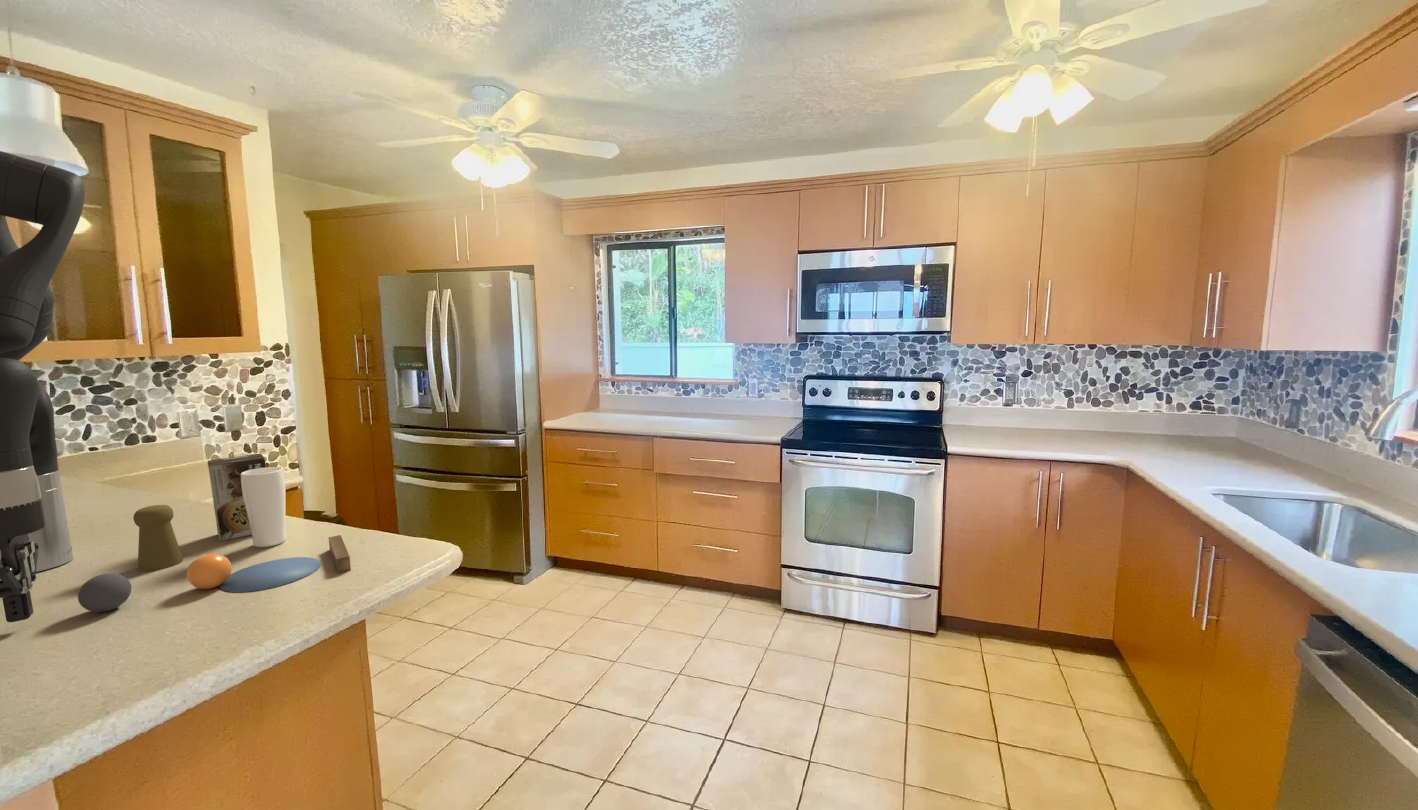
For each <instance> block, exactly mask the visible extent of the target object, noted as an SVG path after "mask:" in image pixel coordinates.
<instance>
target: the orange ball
mask: <svg viewBox="0 0 1418 810" xmlns="http://www.w3.org/2000/svg"><path fill="white" fill-rule="evenodd" d="M232 568H233V567H232V564H231V560H229V559H228V558H227V557H226V556H224V555H223V554H220V553H208V554H203V555H200V556H199V557H197V558H196V559H194V560H193V561H192V562H191V563H190V564H189V566H188V567H187V570H186V579H187V581H188V583H189V584H190V585H191V586H193V587H195V588H197V589H202V590H209V589H214V588H217V587H220V585H221V584H222V583H224V582H225V581H226V580H227V579H228V577H229V576H230V574H232Z"/></svg>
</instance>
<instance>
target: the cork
mask: <svg viewBox="0 0 1418 810" xmlns="http://www.w3.org/2000/svg"><path fill="white" fill-rule="evenodd" d="M174 515H175V514H174V510H173V508H172V507H171V506H170V505H167V504H155V505H148V506H145V507H142V508H139V509H138V510H136V511H135V512H134V513H133V517H132V518H133V522H134V524H135V525H136V526H137V527H138V529H139V530H138V548H137V549H138V550H137V553H138V554H137V571H139V572H153V571H157V570H158V571H159V570H164V569H168V568H171V567H175V566H176V565H177V566H178V565H179V564H180V563H182V562H183V561H184V558H183V556H182V551H181V550H180V546H179V544H178V540H177V537H176V534H175V531H174V529H173V526H172V523H171V522H172V520H173V519H174Z"/></svg>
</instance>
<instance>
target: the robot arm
mask: <svg viewBox="0 0 1418 810" xmlns="http://www.w3.org/2000/svg"><path fill="white" fill-rule="evenodd" d="M85 190H86V189H85V183H84V181H83V179H82V178H81V177H80V176H79V175H78V174H76V173H74V172H72V171H70V170H67V169H64V168H61V167H57V166H54V165H49V164H46V163H43V162H40V161H37V160H36V161H35V160H32V159H29V158H25V157H21V156H18V155H16V154H12V153H9V152H5V151H1V150H0V600H1V599H2V603H3V609H4V616H5V620H6V622H8V623H14V622H20V621H25V620H28V619H29V618H30V617H31V616H32V615H33V614H34V608H33V607H34V606H33V603H32V595H31V590H32V588H33V586H34V585H33V583H32V582H35V581H36V579H37V572H38V573H39V572H42V571H46V570H49V569H53V568H56V567H59V566H63V565H64V564H66V563H69V562H71V561H72V560H73V559H74V555H73V554H74V553H73V546H72V541H71V536H70V530H69V525H68V517H67V511H66V507H65V500H64V494H63V488H62V487H63V486H62V483H61V475H60V470H59V463H58V447H57V439H56V431H55V430H56V428H55V416H54V407H53V402H52V399H51V397H50V395H49V393H48V391H47V390H45V388H43V387H42V386H40V384H39V383H40V382H39V379H38V377H37V375H36V374H35V372H34V371H33V370H32V369H33V368H31V367H30V366H29V365H28V364H26V363H24V362H23V361H20V360H21V359H23V358H24V357H25V356H27V355H28V354H29V353H31V352H32V351H33V350H34V349H36V347H39V345H40V344H41V343H42V342H43V341H44V340H45V339H46V338H47V336H48V335H49V333H50V331H51V329H52V323H53V322H52V321H53V314H54V308H55V296H54V293H53V291H52V288H51V287H50V286H49V285H50V282H51V281H52V278H53V277H54V275H55V273H56V271H57V269H58V267H59V265H60V263H61V262H62V259H63V257H64V255H65V252H66V251H67V248H68V246H69V244H70V242H71V240H72V238H73V235H74V233H75V231H76V228H77V227H78V224H79V222H80V219H81V216H82V213H83V209H84V204H85V197H86V194H85V193H86V192H85ZM6 217H8V218H12V219H16V220H20V221H24V222H29V223H33V224H36V225H37V224H38V225H41V228H40V229H39V231H38V232H37V234H35V236H34V237H32V239H30V241H28V242H27V243H25V244H24V245H22V246H20V247H19V246H18V245H17V243H16V242H15V240H14V238H13V236H12V234H11V231H10V228H9V225H8V221H7V218H6Z"/></svg>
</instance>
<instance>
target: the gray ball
mask: <svg viewBox="0 0 1418 810" xmlns="http://www.w3.org/2000/svg"><path fill="white" fill-rule="evenodd" d="M131 593H132V584H131V581H130V580H129V579H128V578H127V577H125V576H124V575H122V574H119V573H110V572H108V573H103V574H99V575H95V576H93V577H92V578H89V580H87V581H86V582H84V583H83V584H82V585H81V587H80V589H79V590H78V594H77V601H78V603H79V605H80V606H81V607H82V608H84V610H87V611H90V612H92V613H93V612H94V613H95V612H96V613H103V612H109V611H112V610H114V609H116V608H118V607H120V606H121V605H123V604H124V603H125V602H126V601H127V600H128V599H129V597H130V596H131Z"/></svg>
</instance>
